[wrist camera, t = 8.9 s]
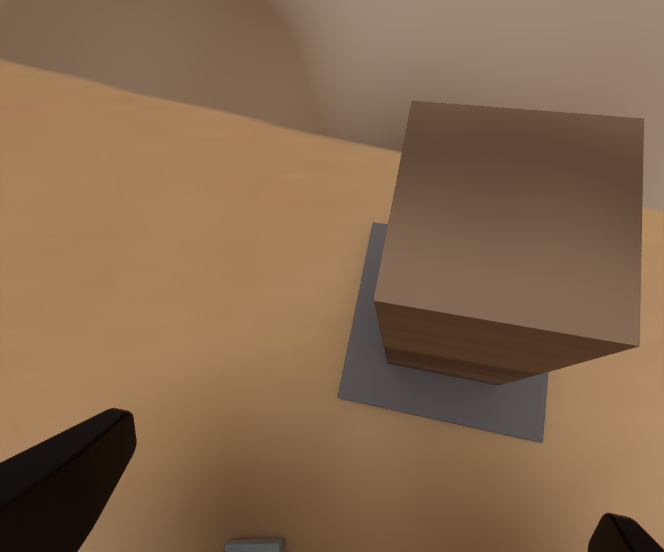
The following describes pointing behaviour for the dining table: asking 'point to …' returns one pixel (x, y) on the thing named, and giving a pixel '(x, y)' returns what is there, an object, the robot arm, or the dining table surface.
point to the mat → (431, 376)
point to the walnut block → (512, 242)
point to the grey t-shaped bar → (255, 545)
